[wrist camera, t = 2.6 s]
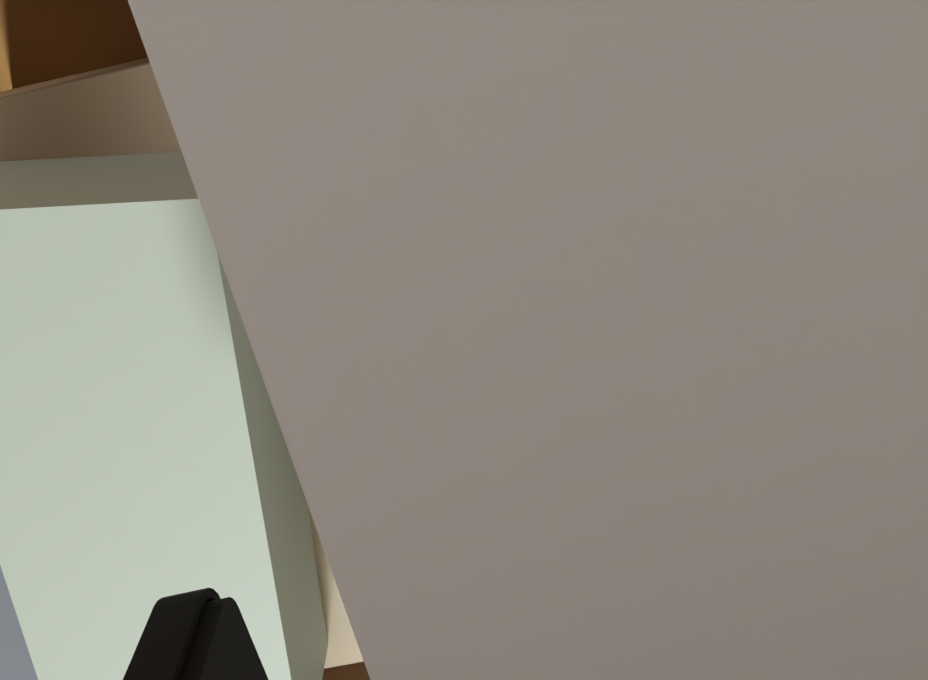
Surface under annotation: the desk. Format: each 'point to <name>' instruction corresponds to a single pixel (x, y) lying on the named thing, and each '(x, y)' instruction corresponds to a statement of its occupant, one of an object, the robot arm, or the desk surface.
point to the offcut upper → (137, 425)
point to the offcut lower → (122, 133)
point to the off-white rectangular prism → (584, 319)
